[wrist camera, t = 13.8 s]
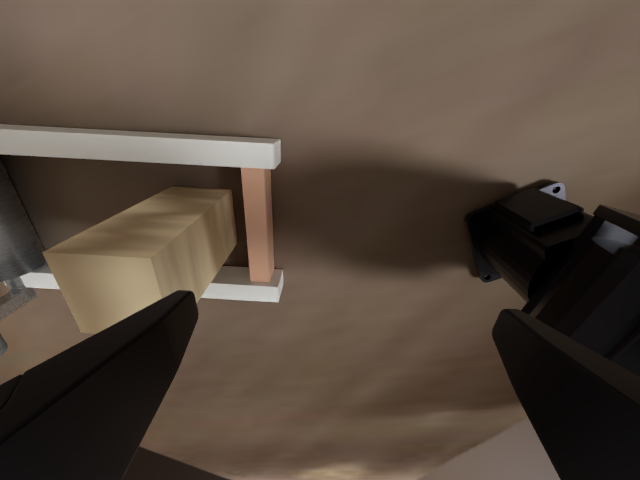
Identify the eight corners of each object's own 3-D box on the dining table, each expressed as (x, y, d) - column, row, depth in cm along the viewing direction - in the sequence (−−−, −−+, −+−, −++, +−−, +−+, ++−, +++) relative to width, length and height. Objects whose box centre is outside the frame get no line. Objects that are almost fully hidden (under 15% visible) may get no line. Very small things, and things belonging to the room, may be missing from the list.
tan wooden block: (231, 189, 20) (150, 258, 11) (237, 243, 22) (173, 338, 13) (171, 186, 20) (41, 252, 11) (182, 240, 22) (81, 332, 13)
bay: (280, 122, 18) (255, 131, 12) (283, 318, 25) (270, 381, 19) (-65, 104, 18) (-256, 104, 12) (42, 303, 25) (-42, 361, 20)
